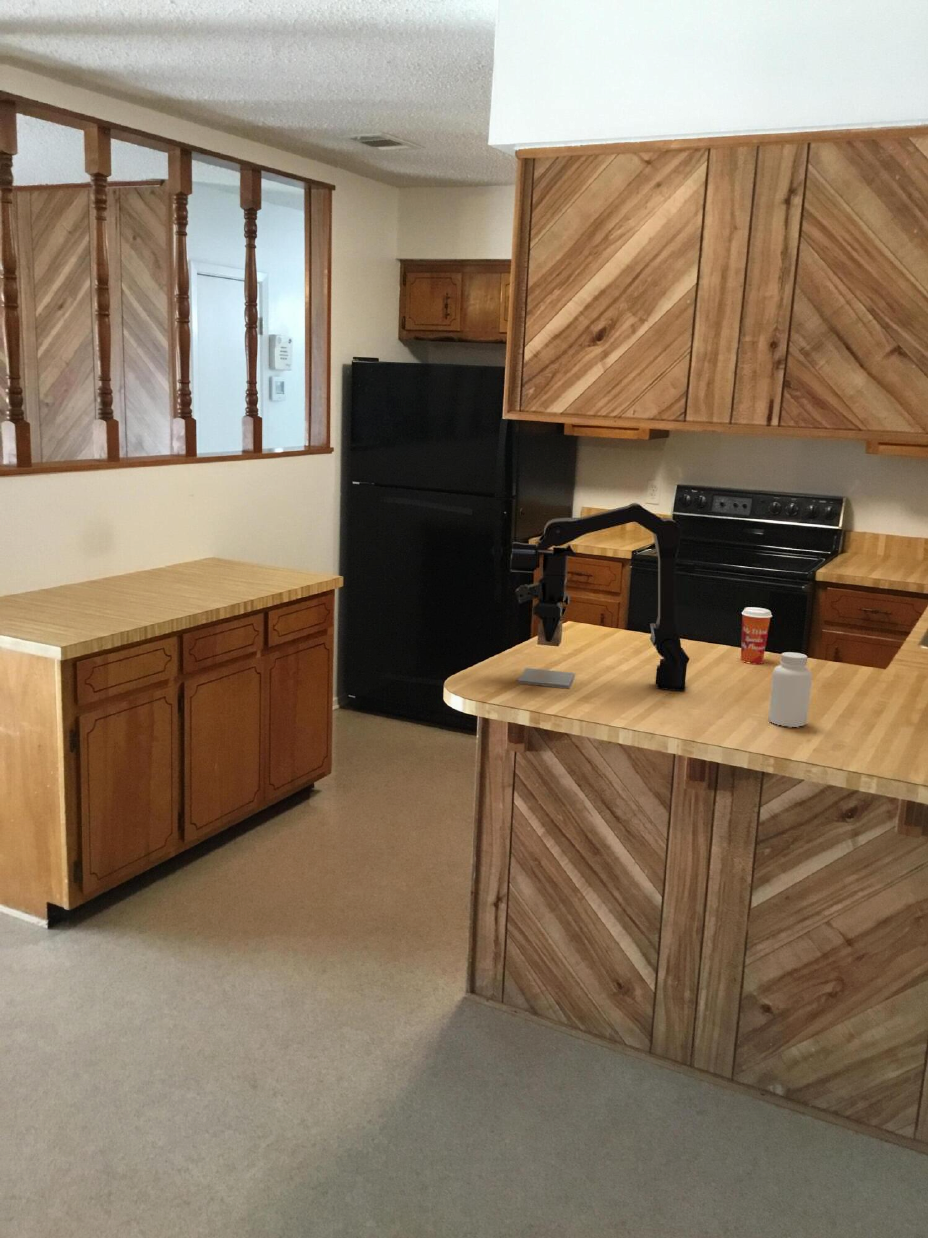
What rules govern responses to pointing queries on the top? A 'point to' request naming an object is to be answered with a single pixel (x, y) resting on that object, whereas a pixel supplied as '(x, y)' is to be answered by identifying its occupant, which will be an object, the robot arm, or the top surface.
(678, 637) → the robot arm
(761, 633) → the paper cup
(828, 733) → the top surface
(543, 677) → the plate
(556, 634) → the walnut block
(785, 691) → the pill bottle
